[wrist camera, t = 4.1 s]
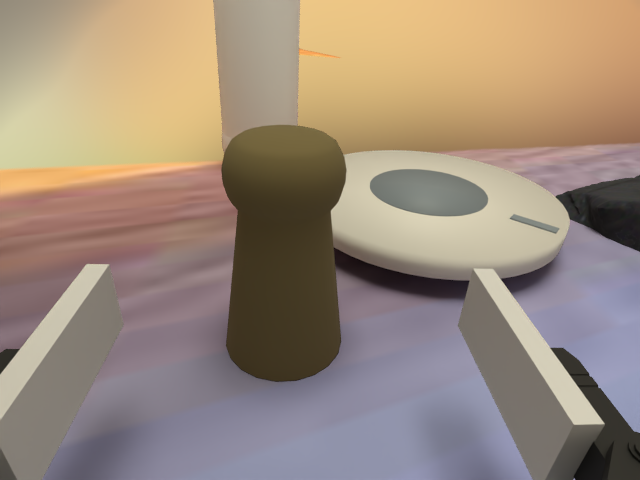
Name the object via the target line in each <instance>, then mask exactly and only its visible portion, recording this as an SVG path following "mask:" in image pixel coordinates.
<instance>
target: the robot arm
mask: <svg viewBox="0 0 640 480" xmlns="http://www.w3.org/2000/svg"><path fill="white" fill-rule="evenodd" d="M123 325H124V324H123V319H122V315H121V311H120V307H119V303H118V299H117V294H116V290H115V286H114V282H113V278H112V273H111V269H110V265H109V264H87V265H86V266H85V267H84V268H83V270H82V271H81V272H80V274H79V275H78V276H77V277H76V279H75V280H74V281H73V282H72V284H71V285H70V286H69V288H68V289H67V290H66V291H65V293H64V294H63V295H62V296H61V298H60V299H59V300H58V302H57V303H56V304H55V305H54V307H53V308H52V309H51V310H50V312H49V313H48V314H47V316H46V317H45V318H44V319H43V321H42V322H41V323H40V325H39V326H38V327H37V328H36V330H35V331H34V332H33V333H32V335H31V336H30V337H29V339H28V340H27V341H26V342H25V344H24V345H23V346H22V347H21V349H5V350H4V351H3V352H1V353H0V480H42V479H43V477H44V475H45V473H46V471H47V469H48V467H49V465H50V463H51V462H52V460H53V458H54V456H55V454H56V452H57V450H58V448H59V446H60V444H61V443H62V441H63V439H64V437H65V435H66V433H67V431H68V429H69V427H70V426H71V424H72V422H73V420H74V418H75V416H76V414H77V412H78V410H79V408H80V407H81V405H82V403H83V401H84V399H85V397H86V395H87V393H88V391H89V390H90V388H91V386H92V384H93V382H94V380H95V378H96V376H97V374H98V372H99V371H100V369H101V367H102V365H103V363H104V361H105V359H106V357H107V355H108V354H109V352H110V350H111V348H112V346H113V344H114V342H115V340H116V338H117V336H118V335H119V333H120V331H121V329H122V327H123ZM458 327H459V329H460V331H461V333H462V335H463V337H464V339H465V341H466V343H467V345H468V347H469V349H470V352H471V354H472V356H473V358H474V360H475V362H476V364H477V366H478V368H479V370H480V372H481V374H482V376H483V378H484V380H485V382H486V384H487V386H488V388H489V390H490V393H491V395H492V397H493V399H494V401H495V403H496V405H497V407H498V409H499V411H500V413H501V415H502V417H503V419H504V421H505V423H506V425H507V427H508V429H509V431H510V433H511V436H512V438H513V440H514V442H515V444H516V446H517V448H518V450H519V452H520V454H521V456H522V458H523V460H524V462H525V464H526V466H527V468H528V470H529V472H530V474H531V477H532V479H533V480H573V479H574V478H575V480H640V433H638V432H634V431H633V430H632V429H631V427H630V426H629V425H628V423H627V422H626V421H625V420H624V418H623V417H622V416H621V414H620V413H619V412H618V410H617V409H616V408H615V407H614V405H613V404H612V403H611V401H610V400H609V399H608V398H607V396H606V395H605V394H604V392H603V391H602V390H601V388H598V385H597V383H596V382H595V381H594V379H593V378H592V377H590V376H589V373H588V372H587V370H586V369H585V368H584V366H583V365H582V364H581V363H580V361H579V360H578V359H577V358H575V357H574V356H573V355H571V354H570V353H569V352H567V351H566V350H565V349H564V348H550V347H549V346H548V344H547V343H546V342H545V340H544V339H543V337H542V336H541V335H540V333H539V332H538V331H537V329H536V328H535V326H534V325H533V324H532V322H531V321H530V319H529V318H528V317H527V315H526V314H525V312H524V311H523V310H522V308H521V307H520V305H519V304H518V303H517V301H516V300H515V299H514V297H513V296H512V294H511V293H510V292H509V290H508V289H507V287H506V286H505V285H504V283H503V282H502V280H501V279H500V278H499V276H498V275H497V273H496V272H495V271H494V269H473V271H472V274H471V278H470V282H469V286H468V289H467V293H466V297H465V301H464V304H463V308H462V312H461V316H460V319H459V323H458Z"/></svg>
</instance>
